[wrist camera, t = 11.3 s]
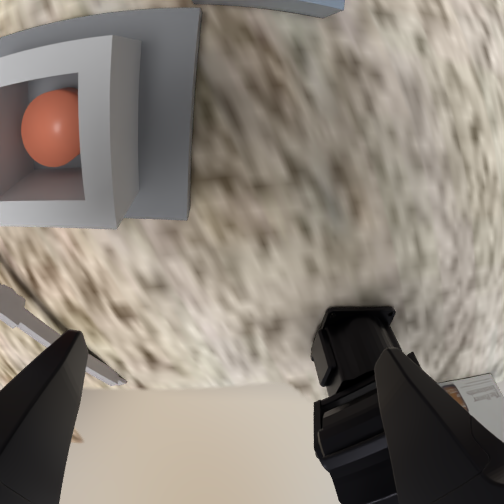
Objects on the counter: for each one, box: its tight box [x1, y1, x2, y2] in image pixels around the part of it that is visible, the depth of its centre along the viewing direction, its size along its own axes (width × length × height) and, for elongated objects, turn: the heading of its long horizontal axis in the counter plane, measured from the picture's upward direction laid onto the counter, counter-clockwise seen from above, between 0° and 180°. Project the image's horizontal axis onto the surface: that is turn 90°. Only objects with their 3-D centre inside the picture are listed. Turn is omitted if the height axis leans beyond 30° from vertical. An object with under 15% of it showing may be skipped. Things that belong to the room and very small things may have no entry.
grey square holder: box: [0, 8, 202, 229], centre depth 13 cm, size 14×12×6 cm
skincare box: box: [437, 374, 504, 442], centre depth 31 cm, size 21×5×16 cm, turn 80°
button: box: [21, 87, 80, 167], centre depth 14 cm, size 4×4×2 cm
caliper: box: [0, 284, 127, 386], centre depth 22 cm, size 20×1×6 cm, turn 26°
